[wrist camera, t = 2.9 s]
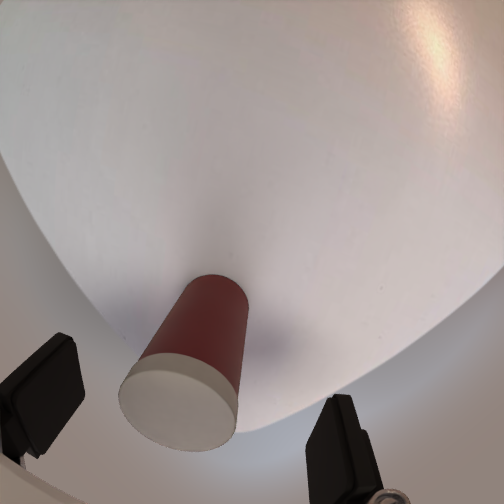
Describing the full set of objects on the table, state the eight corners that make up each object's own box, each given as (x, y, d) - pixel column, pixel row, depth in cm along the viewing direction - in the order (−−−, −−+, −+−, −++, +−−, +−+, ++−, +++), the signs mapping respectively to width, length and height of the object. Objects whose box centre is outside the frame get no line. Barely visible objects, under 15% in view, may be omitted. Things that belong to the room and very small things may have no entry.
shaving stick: (178, 329, 18) (124, 435, 9) (183, 267, 17) (112, 355, 8) (243, 341, 18) (228, 460, 9) (255, 280, 17) (245, 386, 8)
